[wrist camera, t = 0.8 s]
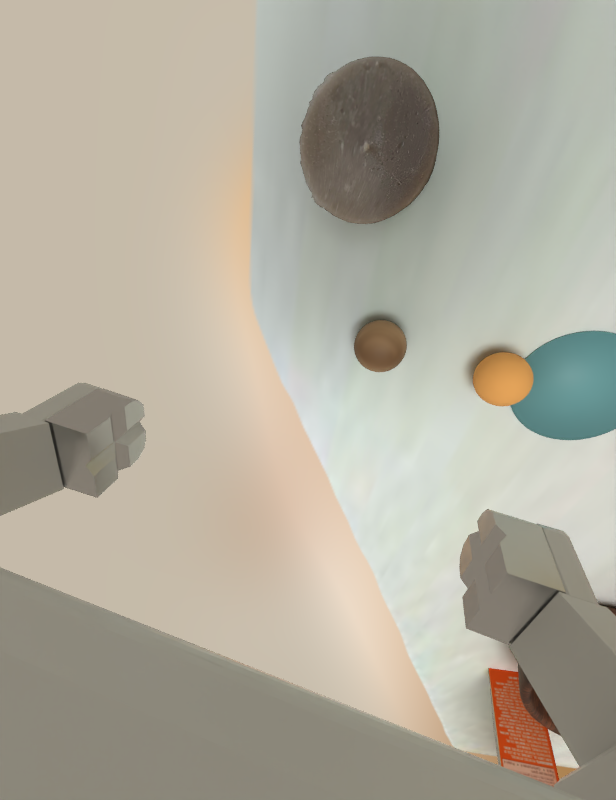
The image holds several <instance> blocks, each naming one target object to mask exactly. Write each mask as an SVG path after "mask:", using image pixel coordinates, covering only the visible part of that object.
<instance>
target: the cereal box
mask: <svg viewBox="0 0 616 800" xmlns="http://www.w3.org/2000/svg"><path fill="white" fill-rule="evenodd" d="M489 679H490V690H491V702H492V714H493V726H494V733H495V741H496V749H497V757H498V765H499V766H502V767H504V768H507V769H509V770H512V771H514V772H517V773H519V774H522V775H524V776H527V777H530V778H532V779H535V780H537V781H540V782H542V783H545V784H547V785H550V786H552V787H554V785H555V784H556V783H557V782H558V781H559V778H558V773H557V768H556V764H555V759H554V755H553V750H552V746H551V742H550V737H549V733H548V728H546V727H544V726H543V725H542V724H540V723H539V722H538V721H536V720H535V719H534V718H533V717H532V716H531V715H530V714H529V713H528V711H527V710H526V708H525V707H524V705H523V702H522V700H521V697H520V690H519V675H518V672H513V671H506V670H499V669H491V668H489Z"/></svg>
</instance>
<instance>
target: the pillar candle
mask: <svg viewBox="0 0 616 800" xmlns="http://www.w3.org/2000/svg"><path fill="white" fill-rule="evenodd" d="M309 103H310V105H309V108H308V110H307V113H306V116H305V119H304V121H303V123H302V125H301V126H302V129H303V130H302V134H301V137H300V142H299V143H300V154H301V166H302V169H303V174H304V176H305V180H306V183H307V185H308V187H309V189H310V191H311V192H312V198H314V201H315V202H316V203H317V204H318V205H319V206H320V207H322V208H323V207H324V208H325V210H326V211H328V212H330V213H331V214H332V215H334V216H336V217H338V218H340V219H342V220H345V221H347V222H351V223H358V224H369V223H376V222H379V221H382V220H385V219H387V218H389V217H391V216H394V215H395V214H397V213H398V212H400V211H401V210H403V209H404V208H405V207H407V206H408V205H409V204H411V203H412V201H414V200H415V199H416V197H417V196H418V195H419V194H420V193H421V191H422V190H423V188H424V186H425V185H426V184H427V182H428V181H429V179H430V176H431V174H432V172H433V169H434V165H435V161H436V156H437V151H438V144H439V121H438V115H437V110H436V106H435V103H434V100H433V97H432V95H431V93H430V91H429V89H428V87H427V86H426V84H425V82H424V81H423V80H422V79H421V77H420V76H419V75H418V74H417V73H416V72H415V71H414V70H413V69H412V68H410V67H409V66H407V65H406V64H404V63H402V62H400V61H397V60H395V59H392V58H386V57H367V58H362V59H357V60H355V61H353V62H350V63H348V64H346V65H345V66H343V67H341V68H340V69H338V70H337V71H335V72H332V73H330V74H329V75H327V76H326V78H325V79H324V82H323V83H322V84H321V85H320V86H318V88H317V89H316V90H315V92H314V94H313V99H312V100H311V101H310V102H309Z"/></svg>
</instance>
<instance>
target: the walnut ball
mask: <svg viewBox="0 0 616 800" xmlns="http://www.w3.org/2000/svg"><path fill="white" fill-rule="evenodd" d="M406 348H407V343H406V338H405V335H404V333H403V331H402V330H401V329H400V328H399V327H398V326H397V325H396V324H394V323H392V322H390V321H386V320H376V321H372V322H370V323H368V324H366V325H365V326H364V327H362V328H361V330H360V331H359V332H358V334H357V336H356V338H355V343H354V351H355V355H356V357H357V359H358V361H359V362H360V364H361V365H362V366H364V367H365V368H367V369H369V370H371V371H375V372H385V371H389V370H391V369H393V368H395V367H396V366H397V365H398V364H399V363H400V362H401V361H402V359H403V358H404V356H405V353H406Z"/></svg>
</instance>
